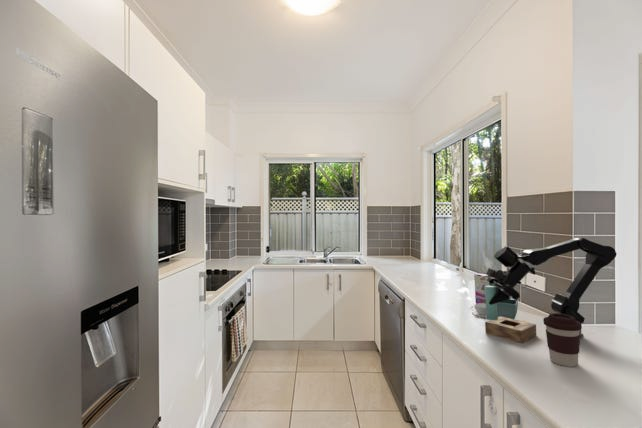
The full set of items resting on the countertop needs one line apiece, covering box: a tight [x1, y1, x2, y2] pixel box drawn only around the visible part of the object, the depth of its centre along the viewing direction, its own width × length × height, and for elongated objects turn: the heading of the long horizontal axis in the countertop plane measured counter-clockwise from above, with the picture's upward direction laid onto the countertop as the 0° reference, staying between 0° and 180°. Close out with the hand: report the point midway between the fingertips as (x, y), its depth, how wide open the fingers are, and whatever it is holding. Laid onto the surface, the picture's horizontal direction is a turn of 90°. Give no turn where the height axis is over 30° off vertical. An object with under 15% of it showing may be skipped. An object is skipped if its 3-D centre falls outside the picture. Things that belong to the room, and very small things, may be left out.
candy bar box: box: [473, 272, 490, 304], centre depth 168 cm, size 11×5×16 cm, turn 25°
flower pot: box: [497, 298, 519, 320], centre depth 144 cm, size 9×9×9 cm
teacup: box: [472, 303, 487, 318], centre depth 153 cm, size 10×10×5 cm
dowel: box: [485, 286, 498, 321], centre depth 128 cm, size 4×4×13 cm
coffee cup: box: [543, 312, 583, 368], centre depth 102 cm, size 10×10×15 cm
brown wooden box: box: [484, 316, 537, 344], centre depth 127 cm, size 14×12×4 cm
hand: (487, 302), depth 129 cm, fingers closed on dowel, 4 cm apart
